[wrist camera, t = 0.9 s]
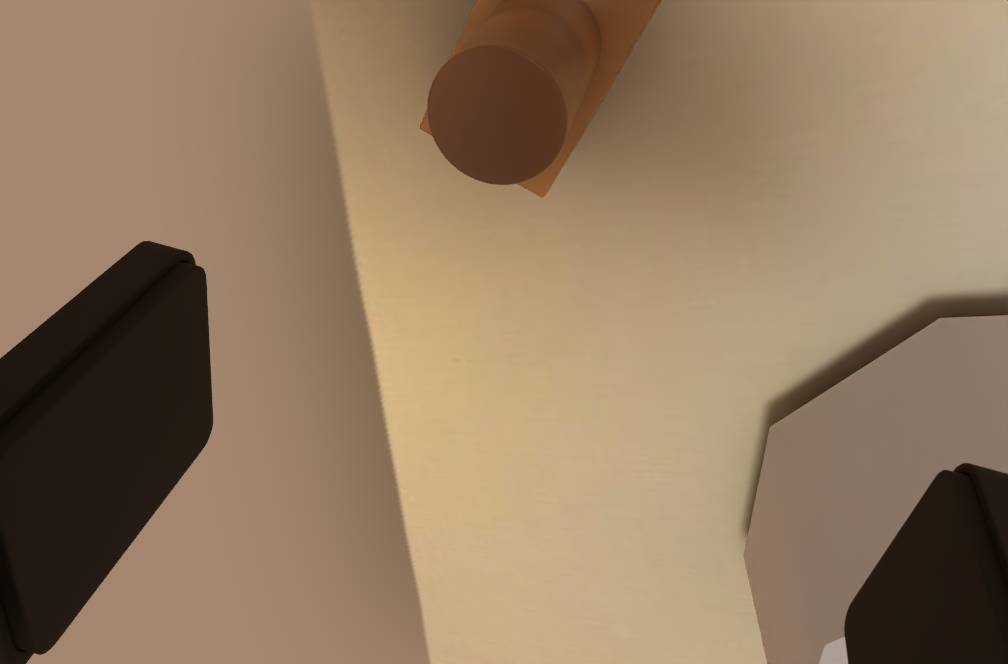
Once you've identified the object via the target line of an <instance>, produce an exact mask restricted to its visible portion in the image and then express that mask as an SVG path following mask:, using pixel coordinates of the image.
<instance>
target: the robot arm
mask: <svg viewBox="0 0 1008 664" xmlns="http://www.w3.org/2000/svg"><path fill="white" fill-rule="evenodd" d="M212 425H213V408H212V388H211V367H210V346H209V325H208V306H207V285H206V274H205V271H204V269H203V268H202V267H200V266H196V264H195V260H194V257H193V255H192V254H190V253H189V252H187V251H184V250H180V249H176V248H173V247H169V246H165V245H162V244H158V243H154V242H151V241H144V242H142V243H140V244H138V245H137V246H135V247H134V248H133V249H132V250H131V251H129V252H128V253H127V254H126V255H125V256H124V257H122V258H121V259H120V260H119V261H117V262H116V263H115V264H114V265H112V267H110V268H109V269H108V270H107V271H105V272H104V273H103V274H102V275H100V276H99V277H98V278H97V279H96V280H94V281H93V282H92V283H91V284H90V285H89V286H87V287H86V288H85V289H84V290H82V291H81V292H80V293H79V294H78V295H76V296H75V297H74V298H73V299H72V300H70V301H69V302H68V303H67V304H66V305H64V306H63V307H62V308H61V309H60V310H58V311H57V312H56V313H55V314H54V315H52V316H51V317H50V318H49V319H47V321H45V322H44V323H43V324H41V325H40V326H39V327H38V328H37V329H35V330H34V331H33V332H32V333H31V334H29V335H28V336H27V337H26V338H25V339H23V340H22V341H21V342H20V343H19V344H17V345H16V346H15V347H14V348H13V349H11V350H10V351H9V352H8V353H7V354H5V355H4V356H3V357H2V358H1V359H0V664H26V663H27V661H28V660H29V659H30V657H31V656H32V655H33V654H34V653H36V654H39V655H41V654H44V653H46V652H47V651H48V650H50V649H51V648H52V647H53V646H54V645H55V643H56V642H57V641H58V640H59V638H60V637H61V636H62V634H63V633H64V632H65V630H66V629H67V628H68V626H69V625H70V624H71V622H72V621H73V620H74V619H75V617H76V616H77V615H78V613H79V612H80V611H81V609H82V608H83V607H84V605H85V604H86V603H87V601H88V600H89V599H90V597H91V596H92V595H93V593H94V592H95V591H96V589H97V588H98V587H99V586H100V584H101V583H102V582H103V580H104V579H105V578H106V576H107V575H108V574H109V572H110V571H111V570H112V568H113V567H114V566H115V564H116V563H117V562H118V560H119V559H120V558H121V556H122V555H123V554H124V552H125V551H126V550H127V549H128V547H129V546H130V545H131V543H132V542H133V541H134V539H135V538H136V537H137V535H138V534H139V532H140V531H141V530H142V529H143V527H144V526H145V525H146V523H147V522H148V521H149V519H150V518H151V517H152V516H153V514H154V513H155V511H156V510H157V509H158V507H159V506H160V505H161V504H162V502H163V501H164V499H165V498H166V497H167V496H168V494H169V493H170V491H171V490H172V489H173V488H174V486H175V485H176V484H177V483H178V481H179V480H180V479H181V477H182V476H183V475H184V473H185V472H186V471H187V469H188V468H189V467H190V465H191V464H192V463H193V461H194V460H195V459H196V457H197V456H198V455H199V453H200V452H201V451H202V450H203V448H204V447H205V445H206V443H207V441H208V439H209V437H210V434H211V431H212ZM844 634H845V642H846V650H847V658H848V664H1008V474H1007V473H1003V472H1000V471H996V470H992V469H989V468H985V467H981V466H978V465H974V464H970V463H962V464H961V465H959V466H957V467H956V468H955V469H954V471H950V470H942V471H941V472H939V473H938V474H937V476H936V477H935V478H934V480H933V481H932V482H931V484H930V485H929V487H928V488H927V490H926V491H925V493H924V494H923V496H922V497H921V499H920V500H919V502H918V503H917V505H916V506H915V508H914V509H913V511H912V512H911V514H910V515H909V517H908V518H907V520H906V521H905V523H904V524H903V526H902V527H901V529H900V530H899V532H898V533H897V535H896V536H895V538H894V539H893V541H892V542H891V544H890V545H889V547H888V548H887V550H886V551H885V553H884V554H883V556H882V557H881V559H880V560H879V562H878V563H877V565H876V566H875V568H874V569H873V571H872V572H871V574H870V575H869V577H868V578H867V579H866V581H865V582H864V584H863V585H862V587H861V588H860V590H859V591H858V593H857V594H856V596H855V597H854V599H853V600H852V602H851V604H850V606H849V608H848V610H847V613H846V618H845V625H844Z"/></svg>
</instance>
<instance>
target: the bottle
mask: <svg viewBox="0 0 1008 664" xmlns="http://www.w3.org/2000/svg"><path fill="white" fill-rule="evenodd" d="M962 463H970V464H974V465H978V466H981V467H985V468H989V469H992V470H996V471H1000V472H1003V473H1007V474H1008V315H1002V316H976V317H951V318H939V319H938V320H936V321H935V322H933V323H931V324H930V325H928V326H927V327H925V328H924V329H922V330H920V331H919V332H917V333H916V334H914V335H913V336H911V337H910V338H908V339H906V340H905V341H903V342H902V343H900V344H899V345H897V346H896V347H894V348H892V349H891V350H889V351H888V352H886V353H885V354H883V355H882V356H880V357H878V358H877V359H875V360H874V361H872V362H871V363H869V364H867V365H866V366H864V367H863V368H861V369H860V370H858V371H857V372H855V373H853V374H852V375H850V376H849V377H847V378H846V379H844V380H843V381H841V382H839V383H838V384H836V385H835V386H833V387H832V388H830V389H829V390H827V391H825V392H824V393H822V394H821V395H819V396H818V397H816V398H814V399H813V400H811V401H810V402H808V403H807V404H805V405H804V406H802V407H800V408H799V409H797V410H796V411H794V412H793V413H791V414H790V415H788V416H786V417H785V418H783V419H782V420H780V421H779V422H777V423H776V424H774V425H772V426H771V427H770V430H769V434H768V439H767V444H766V449H765V454H764V459H763V464H762V469H761V474H760V479H759V483H758V488H757V493H756V498H755V503H754V508H753V513H752V518H751V523H750V527H749V532H748V537H747V542H746V547H745V552H744V560H745V564H746V569H747V573H748V578H749V582H750V587H751V591H752V596H753V601H754V605H755V610H756V614H757V619H758V623H759V628H760V632H761V637H762V641H763V646H764V650H765V655H766V660H767V664H848V658H847V650H846V642H845V634H844V625H845V618H846V613H847V610H848V608H849V606H850V604H851V602H852V600H853V599H854V597H855V596H856V594H857V593H858V591H859V590H860V588H861V587H862V585H863V584H864V582H865V581H866V579H867V578H868V577H869V575H870V574H871V572H872V571H873V569H874V568H875V566H876V565H877V563H878V562H879V560H880V559H881V557H882V556H883V554H884V553H885V551H886V550H887V548H888V547H889V545H890V544H891V542H892V541H893V539H894V538H895V536H896V535H897V533H898V532H899V530H900V529H901V527H902V526H903V524H904V523H905V521H906V520H907V518H908V517H909V515H910V514H911V512H912V511H913V509H914V508H915V506H916V505H917V503H918V502H919V500H920V499H921V497H922V496H923V494H924V493H925V491H926V490H927V488H928V487H929V485H930V484H931V482H932V481H933V480H934V478H935V477H936V476H937V474H938V473H939V472H941V471H942V470H950V471H954V469H955V468H956V467H957V466H959V465H961V464H962Z"/></svg>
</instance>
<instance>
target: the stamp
mask: <svg viewBox="0 0 1008 664" xmlns="http://www.w3.org/2000/svg"><path fill="white" fill-rule="evenodd" d="M660 1H661V0H477V1H476V3H475V5H474V7H473V9H472V12H471V14H470V16H469V18H468V20H467V23H466V25H465V27H464V29H463V32H462V34H461V36H460V38H459V40H458V43H457V45H456V47H455V49H454V51H453V54H452V56H451V58H450V59H449V60H448V61H447V62H446V63H445V65H444V66H443V67H442V68H441V69H440V71H439V72H438V73H437V75H436V77H435V79H434V81H433V83H432V86H431V88H430V92H429V96H428V105H427V111H426V113H425V115H424V118H423V120H422V122H421V124H420V129H421V130H423V131H425V132H426V133H428V134H430V135H432V136H433V138H434V140H435V142H436V144H437V146H438V148H439V149H440V151H441V152H442V154H443V155H444V156H445V158H446V159H447V160H448V161H449V162H450V163H451V164H452V165H453V166H455V167H456V168H457V169H458V170H460V171H461V172H463V173H464V174H466V175H467V176H470V177H472V178H474V179H476V180H479V181H482V182H485V183H490V184H498V185H508V184H516V183H517V184H519V185H521V186H522V187H524V188H526V189H528V190H529V191H531V192H533V193H535V194H537V195H538V196H540V197H545V196H546V194H547V192H548V191H549V189H550V187H551V186H552V184H553V182H554V180H555V179H556V177H557V175H558V174H559V172H560V170H561V169H562V167H563V165H564V164H565V162H566V160H567V159H568V157H569V155H570V153H571V152H572V150H573V148H574V147H575V145H576V143H577V142H578V140H579V138H580V137H581V135H582V133H583V132H584V130H585V128H586V126H587V125H588V123H589V121H590V120H591V118H592V116H593V115H594V113H595V111H596V110H597V108H598V106H599V104H600V103H601V101H602V99H603V98H604V96H605V94H606V93H607V91H608V89H609V88H610V86H611V84H612V83H613V81H614V79H615V77H616V76H617V74H618V72H619V71H620V69H621V67H622V66H623V64H624V62H625V61H626V59H627V57H628V56H629V54H630V52H631V50H632V49H633V47H634V45H635V44H636V42H637V40H638V39H639V37H640V35H641V34H642V32H643V30H644V28H645V27H646V25H647V23H648V22H649V20H650V18H651V17H652V15H653V13H654V12H655V10H656V8H657V7H658V5H659V3H660Z"/></svg>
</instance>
